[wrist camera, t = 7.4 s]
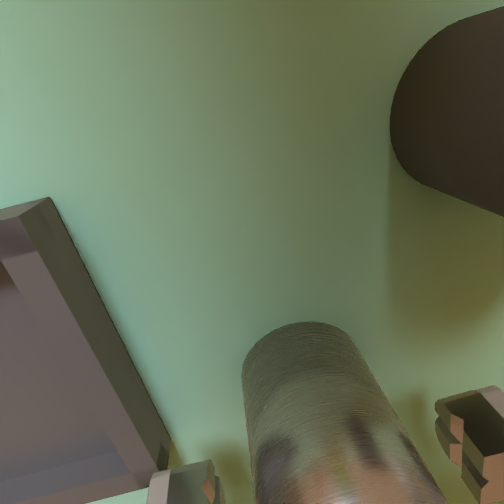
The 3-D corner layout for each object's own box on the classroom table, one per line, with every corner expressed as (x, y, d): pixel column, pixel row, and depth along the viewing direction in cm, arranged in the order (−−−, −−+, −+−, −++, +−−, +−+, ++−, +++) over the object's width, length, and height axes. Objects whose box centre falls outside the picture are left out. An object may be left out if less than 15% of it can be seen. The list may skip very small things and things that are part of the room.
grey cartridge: (352, 308, 11) (611, 690, 4) (364, 398, 12) (558, 778, 5) (227, 340, 11) (257, 782, 4) (256, 426, 12) (313, 843, 5)
